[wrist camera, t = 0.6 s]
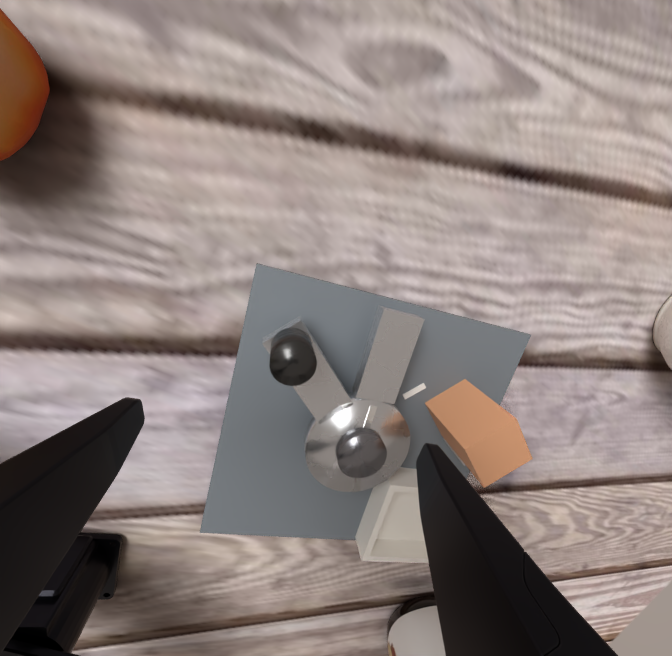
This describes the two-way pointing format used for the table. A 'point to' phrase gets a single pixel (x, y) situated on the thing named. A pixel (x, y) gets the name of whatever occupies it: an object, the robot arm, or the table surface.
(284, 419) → the faceplate
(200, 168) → the table surface
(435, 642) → the spread jar
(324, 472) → the crank wheel
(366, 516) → the tray
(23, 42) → the fruit
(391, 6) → the table surface
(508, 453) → the block
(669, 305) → the lidded bowl
